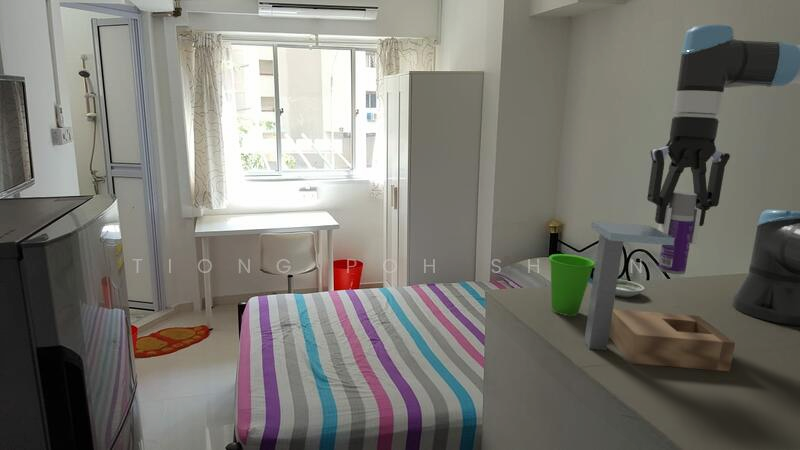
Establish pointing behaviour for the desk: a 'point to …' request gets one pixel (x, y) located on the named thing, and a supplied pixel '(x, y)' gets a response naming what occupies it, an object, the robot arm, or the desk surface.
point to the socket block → (670, 340)
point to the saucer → (628, 288)
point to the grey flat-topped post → (612, 274)
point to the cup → (569, 281)
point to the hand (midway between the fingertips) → (676, 241)
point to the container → (678, 233)
